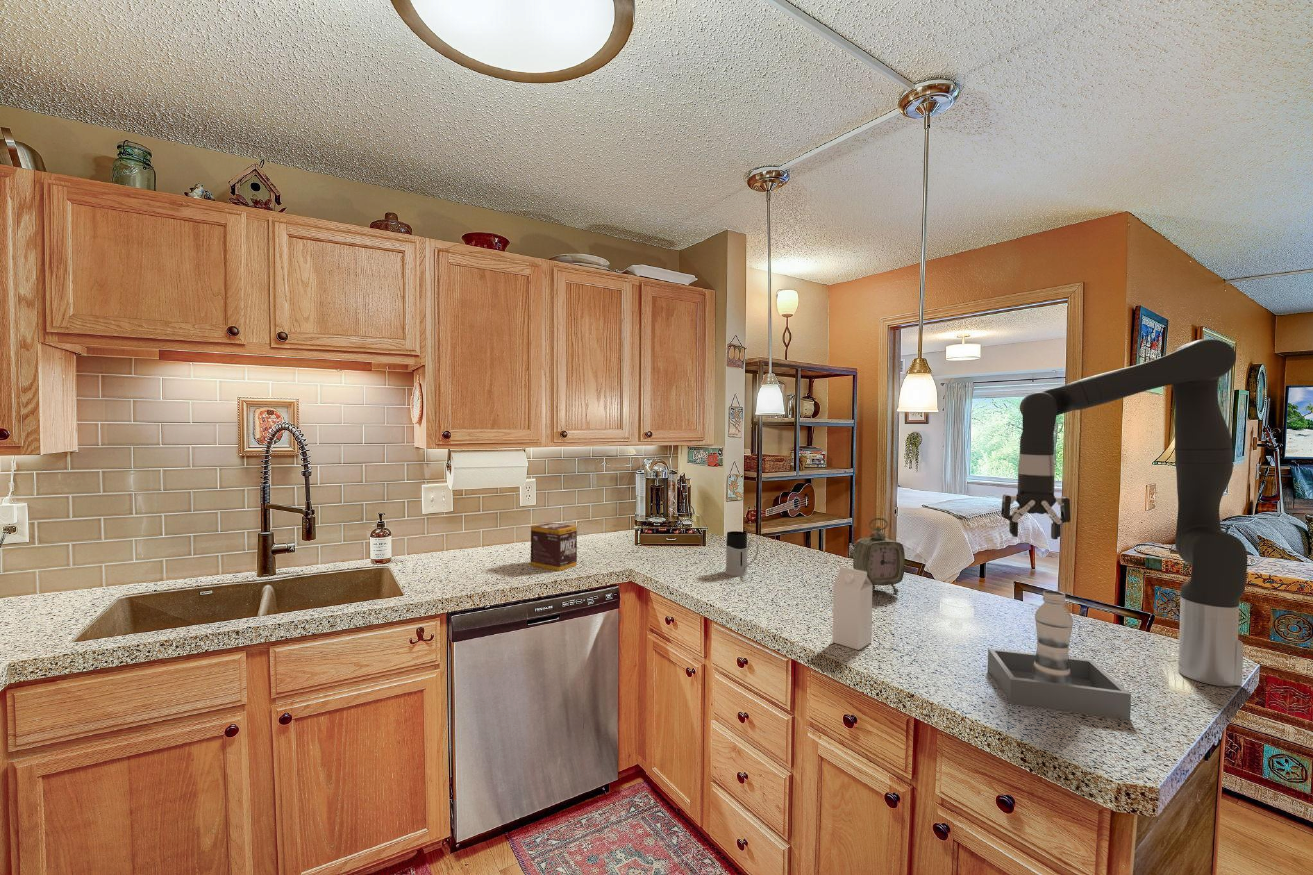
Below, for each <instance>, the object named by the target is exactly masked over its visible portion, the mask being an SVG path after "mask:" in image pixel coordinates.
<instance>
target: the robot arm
mask: <svg viewBox="0 0 1313 875" xmlns="http://www.w3.org/2000/svg"><path fill="white" fill-rule="evenodd" d="M1236 361H1237V353H1236V351H1235V349H1234V348H1233V346H1231V344H1229V343H1227V342H1225V341H1223V340H1220V339H1213V338H1206V339H1205V338H1202V339H1198V340H1194V341H1190V342H1188V343H1185V344H1183V345H1180V346H1179V347H1177V348H1176V349H1175V350H1174V351H1173V352H1171V353H1168V354H1167V355H1163V356H1161V357H1158V358H1156V359H1152V360H1150V361H1145V362H1142V363H1140V364H1139V363H1138V364H1135V365H1132V366H1127V367H1123V368H1118V369H1115V370H1111V371H1107V372H1102V373H1099V374H1095V375H1091V376H1088V377H1085V378H1084V377H1083V378H1081V379H1077V380H1075V381H1072V382H1068V383H1066V384H1064V385H1061V386H1058V387H1055V388H1053V387H1052V388H1050V389H1047V390H1042V391H1038V392H1037V391H1036V392H1033V393H1030V394H1028V395H1026V396H1025V397H1024V398H1023V399H1022V400H1021V402H1020V404H1019V412H1020V413H1021V415H1022V431H1021V433H1020V434H1021V435H1020V439H1019V458H1018V463H1017V465H1018V466H1017V493H1016V495H1009V494H1005V493H1004V494H1003V495H1002V500H1001V510H1000V516H1001V517H1002V518H1003V519H1006V520H1008V521H1009V523H1008V524H1009V525H1008V526H1009V529H1008V531H1009V534H1011V536H1012V537H1014V538H1018V536H1019V522H1018V521H1019V520H1020V519H1021V517H1023V516H1025V514H1026V513H1028V514H1029V515H1031V514H1032V515H1034V514H1037V515H1044V514H1045V515H1046V516H1047V517H1048V518H1049V519H1050V520H1051V521H1052V522H1051V524H1050V537H1051V539H1052V540H1058V539H1059V538H1060V537H1061V529H1062V528H1061V527H1062V524H1065V523H1070V522H1071V520H1072V519H1071V518H1072V517H1071V501H1070V498H1068V497H1067V496H1061V497H1056V496H1055V477H1056V476H1055V474H1056V473H1055V472H1056V464H1055V436H1054V435H1055V434H1054V433H1055V428H1056V422H1057V416H1060V415H1062V414H1063V415H1064V414H1065V413H1069V412H1072V411H1080V410H1086V409H1089V408H1093V407H1096V406H1100V405H1104V404H1108V403H1111V402H1114V401H1118V400H1121V399H1124V398H1126V397H1130V396H1133V395H1136V394H1140V393H1144V392H1146V391H1150V390H1154V389H1158V388H1163V387H1167V386H1170V385H1171V387H1172V392H1173V398H1174V407H1175V408H1174V410H1175V411H1174V459H1175V471H1176V472H1175V473H1176V493H1177V494H1176V495H1177V518H1176V527H1175V536H1174V537H1175V539H1174V540H1175V542H1174V543H1175V549H1176V552H1177V554H1178V556H1179V557H1180V558H1181V559H1182V560H1183V561H1184V562H1185V563H1187V564H1189V565H1191V573H1190V574H1191V575H1190V580H1189V581H1188V582H1185V583H1182V585H1181V586H1180V603H1179V604H1180V606H1179V607H1180V608H1179V634H1178V635H1179V636H1178V638H1179V640H1178V663H1177V666H1178V667H1177V668H1178V669H1177V671H1178V672H1179V674H1181V675H1182V676H1184V677H1186V678H1189V679H1191V680H1193V681H1197V682H1200V683H1204V684H1209V685H1213V686H1218V687H1235V686H1240V687H1242V686H1243V664H1244V662H1243V661H1244V643H1243V641H1241V640H1240V639H1239V618H1240V617H1239V616H1240V614H1239V613H1240V599H1241V598H1242V597H1243V595H1244V593H1245V590H1246V583H1247V582H1246V581H1247V573H1248V551H1247V548H1246V546H1245V544H1244V543H1243V542H1242V541H1241V540H1240V539H1239V538H1238V537H1237V536H1235V535H1233V534H1231V533H1228V532H1224V531H1222V527H1221V516H1220V507H1221V506H1220V505H1221V502H1222V498H1223V496H1224V494H1225V491H1226V490H1227V488H1228V485H1229V483H1230V481H1231V478H1232V475H1233V470H1234V451H1233V442H1232V437H1231V432H1230V430H1229V428H1228V425H1227V423H1226V420H1225V418H1224V415H1223V413H1222V411H1221V408H1220V405H1219V378H1221V377H1223V376H1225V375H1226V374H1228V373H1229V372H1230V371H1231V370H1232V369H1233V367H1234V365H1235V364H1236ZM1014 502H1016V503H1017V504H1018V506H1017V507H1016V508H1015V509H1014V511H1013V512H1012V513H1011V505H1013V504H1014ZM1056 503H1057V505H1058V506H1059V508H1060V516H1058V515H1057V513H1056V511H1055V510H1054V509H1053V508H1052V507H1053V506H1054V505H1055V504H1056Z"/></svg>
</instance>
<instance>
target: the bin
mask: <svg viewBox="0 0 1313 875" xmlns="http://www.w3.org/2000/svg"><path fill="white" fill-rule="evenodd" d="M1035 657H1036V653H1032V652H1022V651H1016V650H1015V651H1014V650H1005V649H996V648H988V649H987V671H988V673H989V674H990V676H991V677H992V679H993V680H994V682H995V684H996V685H997V686H998V688H999V689H1000V691H1001V692H1002V694H1003V695H1004V696H1005V698H1006V700H1007V701H1008V702H1009V704H1011V705H1017V706H1024V707H1031V708H1032V707H1033V708H1038V709H1047V710H1053V711H1061V712H1068V713H1076V714H1083V715H1090V716H1098V717H1103V718H1104V717H1105V718H1113V719H1119V720H1127V721H1130V720H1131V704H1132V703H1131V702H1132V694H1131V692H1129V690H1127V689H1126V688H1124V687H1123V686H1122V685H1121V684H1120V683H1119V682H1118V681H1116V680H1115V679H1114V678H1113V676H1111V675H1110V674H1108V672H1106V671H1105V670H1104V669H1103V668H1102V667H1100V665H1098V664H1097V662H1095V661H1094V660H1093V659H1085V658H1077V657H1069V669H1070V672H1071V684H1062V683H1054V682H1046V681H1038V680H1034V678H1033V673H1032V669H1033V664H1034V661H1035Z"/></svg>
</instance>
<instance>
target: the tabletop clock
mask: <svg viewBox="0 0 1313 875" xmlns="http://www.w3.org/2000/svg"><path fill="white" fill-rule="evenodd" d="M878 520H879V521H884V522H885V523H886V525H885V526H884V527H881V526H879V525H877V526H876V528H875V527H872V526H871V524H872V523H873V522H874V521H878ZM868 526H869V528H870V530H873V532H872V533H871V534H870V537H863V538H859V539H858V540H856V541H855V542H854V544H853V545H854V546H853V552H852V553H853V554H852V564H853V565H852V567H853V568H852V569H855V570H860V571H865V572H867V577H868V579H869V580H870V582H871V583H872V591H875V590H876V586H891V587H892V588H893V590H892V591H893V593H894V594H897V593H899V589H898V588H897V587H896V586H895V585H897V584H899V583H901V582H902V581H903V578H904V576H905V575H904V574H905V567H906V566H905V564H906V558H905V557H906V555H905V553H906V552H905V547H904V545H903V544H902V543H900V542H899V541H894V540H891V539H889V538H887V535H886V534H885V533H884V532H883V531H884V530H885V529H887V527H888V526H889V522H888V520H887V519H885V518H883V517H874V518H872V519H871V520H870V521H869V522H868Z"/></svg>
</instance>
